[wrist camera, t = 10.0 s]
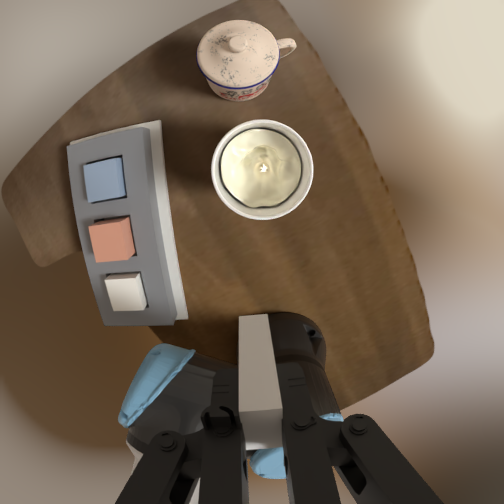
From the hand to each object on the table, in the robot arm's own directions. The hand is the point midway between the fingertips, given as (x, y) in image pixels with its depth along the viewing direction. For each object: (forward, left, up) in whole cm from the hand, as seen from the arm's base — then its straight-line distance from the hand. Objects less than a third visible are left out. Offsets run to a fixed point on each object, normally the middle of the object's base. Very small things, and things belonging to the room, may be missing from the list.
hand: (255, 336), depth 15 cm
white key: (-7, +18, -24) cm, 31 cm away
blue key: (+9, +18, -24) cm, 31 cm away
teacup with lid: (+22, -2, -27) cm, 35 cm away
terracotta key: (+1, +18, -23) cm, 29 cm away
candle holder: (+8, -2, -27) cm, 28 cm away
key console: (+1, +18, -26) cm, 32 cm away
